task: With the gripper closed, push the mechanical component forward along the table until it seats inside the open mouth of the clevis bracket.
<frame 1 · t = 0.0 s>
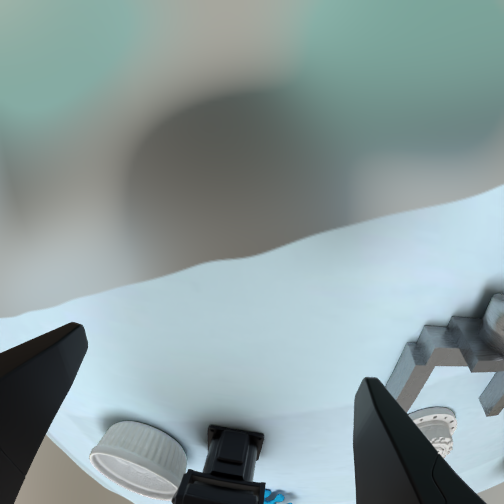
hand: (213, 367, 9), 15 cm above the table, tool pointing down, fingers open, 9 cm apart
clevis bracket: (461, 368, 26), on the table
ramekin: (149, 441, 38), on the table
mechanical component: (417, 428, 31), on the table
gear: (264, 495, 41), on the table
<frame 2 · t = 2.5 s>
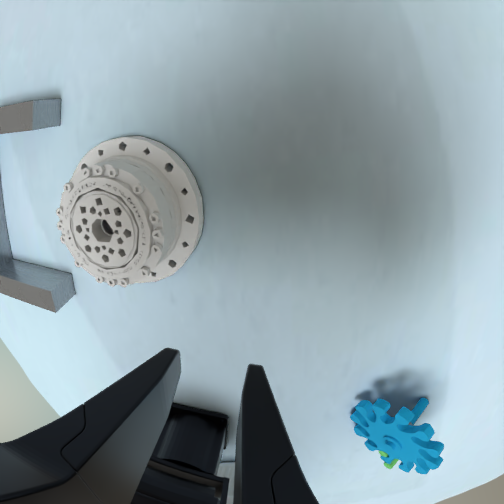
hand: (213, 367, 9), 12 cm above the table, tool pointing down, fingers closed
clevis bracket: (22, 200, 21), on the table
ramekin: (245, 477, 34), on the table
mechanical component: (136, 207, 21), on the table
gear: (389, 409, 26), on the table
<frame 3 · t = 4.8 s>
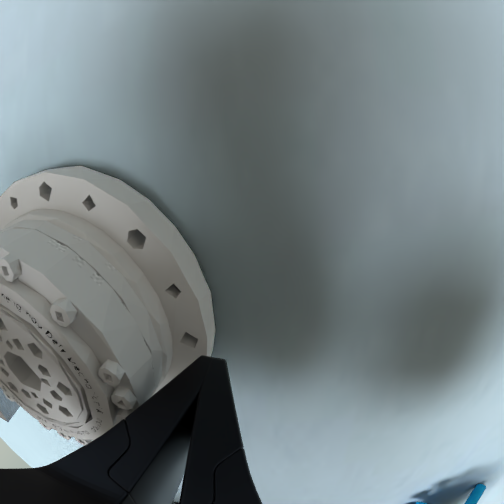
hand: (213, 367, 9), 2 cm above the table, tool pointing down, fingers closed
mechanical component: (93, 294, 11), on the table, touching gripper
gear: (440, 497, 16), on the table
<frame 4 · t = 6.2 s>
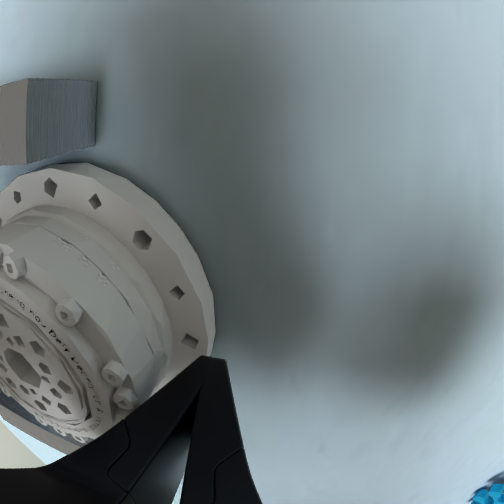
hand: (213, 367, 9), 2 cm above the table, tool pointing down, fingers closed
clevis bracket: (19, 288, 11), on the table
mechanical component: (93, 291, 11), on the table, touching gripper
gear: (502, 480, 15), on the table
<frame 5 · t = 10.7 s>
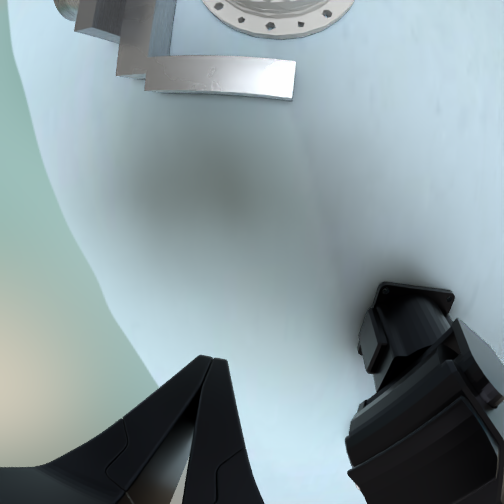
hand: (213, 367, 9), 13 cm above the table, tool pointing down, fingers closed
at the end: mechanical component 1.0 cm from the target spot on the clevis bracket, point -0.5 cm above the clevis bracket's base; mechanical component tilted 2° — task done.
